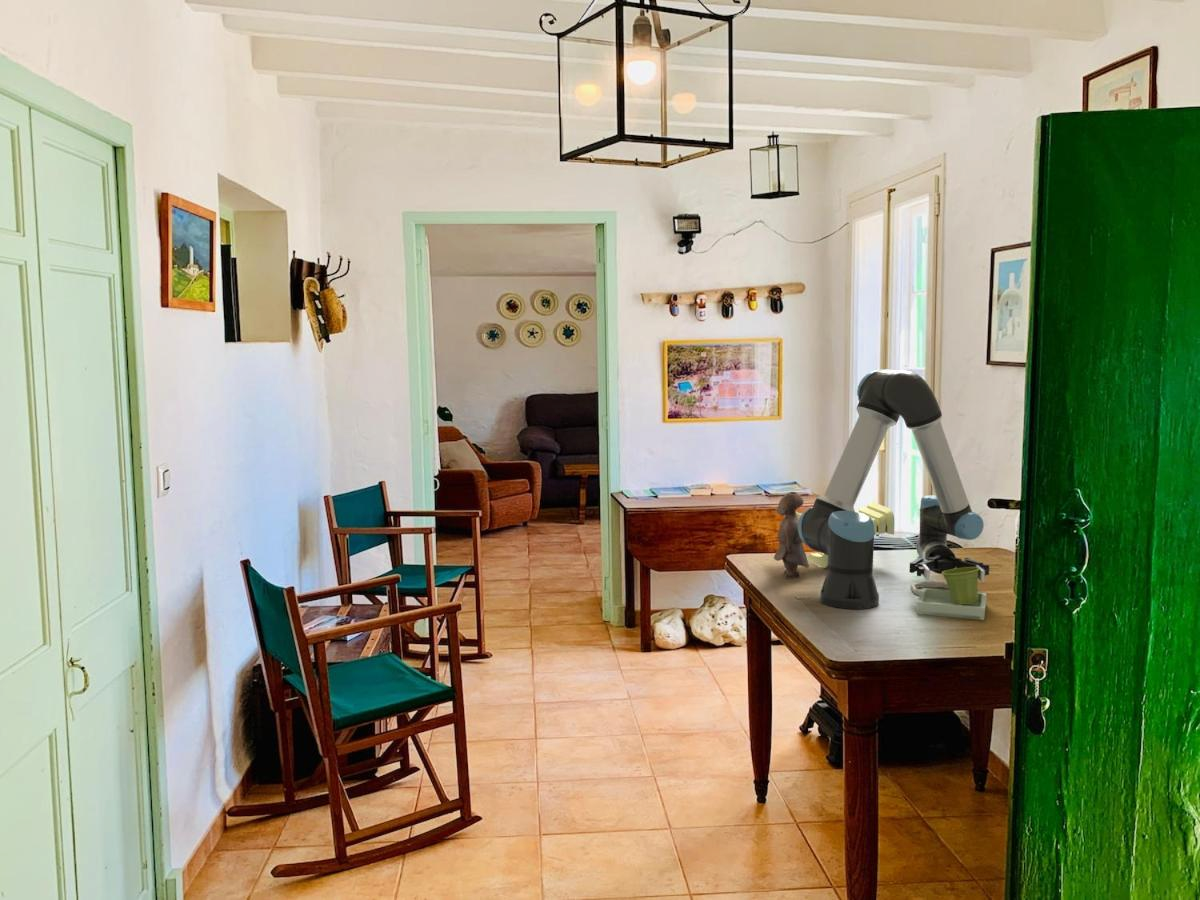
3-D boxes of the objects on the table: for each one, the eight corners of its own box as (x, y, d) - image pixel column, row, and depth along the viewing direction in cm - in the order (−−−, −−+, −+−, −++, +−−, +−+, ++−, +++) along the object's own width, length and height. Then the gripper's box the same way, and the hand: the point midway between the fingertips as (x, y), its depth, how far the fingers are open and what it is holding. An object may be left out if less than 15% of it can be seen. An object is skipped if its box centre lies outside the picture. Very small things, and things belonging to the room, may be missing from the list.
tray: (984, 620, 256) (984, 608, 256) (917, 613, 262) (917, 602, 262) (985, 604, 271) (986, 593, 271) (922, 598, 277) (922, 587, 277)
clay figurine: (773, 570, 310) (775, 488, 307) (807, 572, 308) (809, 489, 305) (773, 581, 297) (775, 495, 294) (809, 582, 295) (811, 496, 293)
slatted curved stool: (798, 571, 309) (799, 513, 307) (780, 560, 324) (781, 504, 322) (893, 568, 313) (894, 510, 311) (871, 557, 329) (872, 501, 327)
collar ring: (945, 600, 275) (945, 596, 275) (901, 590, 285) (901, 586, 285) (973, 592, 283) (973, 588, 283) (930, 583, 294) (930, 579, 294)
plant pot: (961, 608, 261) (955, 574, 261) (939, 605, 270) (934, 572, 270) (992, 601, 263) (987, 567, 264) (970, 598, 273) (964, 566, 273)
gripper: (985, 572, 284) (1005, 591, 263) (892, 569, 287) (904, 588, 266) (986, 545, 283) (1006, 562, 263) (893, 543, 287) (905, 559, 266)
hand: (955, 575), depth 264 cm, fingers open, 13 cm apart
